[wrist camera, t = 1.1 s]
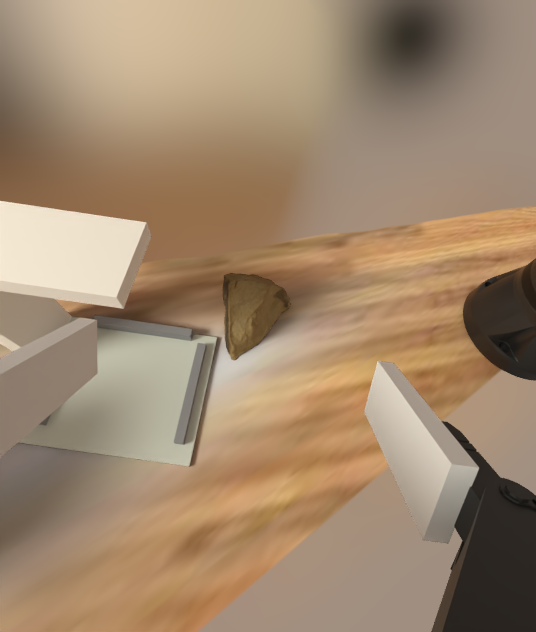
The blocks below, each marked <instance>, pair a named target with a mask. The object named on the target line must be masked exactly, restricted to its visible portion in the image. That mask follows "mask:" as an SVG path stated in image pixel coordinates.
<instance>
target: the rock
mask: <svg viewBox="0 0 536 632" xmlns="http://www.w3.org/2000/svg"><path fill="white" fill-rule="evenodd" d="M223 300H224V305H225V309H226V312H225V320H224V326H225V341H226V348H227V350H228V353H229V354H230V356H231V359H232V360H236V359H237V358H238V356H239V355H241V354H242V353H244V352H246V351H247V350H249V349H251V348H253V347H254V346H255V345H258V344H259V342H260V341H261V340H262V339H263V338H264V337H265V336H266V335H267V333H268V332H269V331H270V328H271V327H272V325H273V324H274V323H275V322H276V321H277V319H278V317H279V315H280V314H281V313H282V312H284V311H285V310H287V309H288V308H289V307H290V305H291V303H290V298H289V297H288V295H287V293H286V291H285V290H284V289H283V288H282V287H280V286H278V285H276V284H275V283H274V282H272V281H271V280H269V279H265V278H262V277H259V276H257V275H246V274H234V273H230V274H227V275H224V283H223Z"/></svg>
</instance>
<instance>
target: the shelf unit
mask: <svg viewBox="0 0 536 632" xmlns="http://www.w3.org/2000/svg"><path fill="white" fill-rule="evenodd" d="M150 238H151V234H150V231H149V228H148V226H147V223H145V222H139V221H132V220H125V219H119V218H112V217H105V216H98V215H92V214H85V213H78V212H71V211H64V210H57V209H51V208H44V207H37V206H30V205H24V204H17V203H10V202H3V201H0V344H1V345H3V346H5V347H7V348H8V349H10V350H12V351H15V350H17V349H19V348H21V347H23V346H25V345H27V344H29V343H31V342H33V341H35V340H37V339H39V338H41V337H43V336H45V335H47V334H49V333H51V332H53V331H55V330H57V329H59V328H61V327H63V326H65V325H67V324H69V323H71V322H73V321H75V320H77V319H79V317H72V316H71V315H70V314H69V313H68V312H67V311H66V310H65V309H64V308H63V307H62V306H61V305H60V304H59V303H58V302H57V301H56V300H55V299H60V300H67V301H74V302H81V303H88V304H95V305H102V306H109V307H115V308H122V309H124V307H125V304H126V301H127V299H128V296H129V294H130V291H131V288H132V286H133V283H134V281H135V278H136V275H137V273H138V270H139V267H140V265H141V262H142V260H143V257H144V254H145V252H146V249H147V247H148V244H149V241H150ZM93 319H94V320H97V366H98V374H97V375H95V376H94V377H93V378H92V379H91V380H90V381H89V382H87V383H86V384H85V385H84V386H83V387H82V388H80V389H79V390H78V391H77V392H76V393H75V394H73V395H72V396H71V397H70V398H69V399H68V400H67V401H65V402H64V403H63V404H62V405H61V406H60V407H58V408H57V409H56V410H55V411H54V412H53V413H52V414H50V415H49V416H48V417H47V418H46V419H45V420H43V421H42V422H41V423H40V424H39V425H38V426H36V427H35V428H34V429H33V430H32V431H31V432H30V433H28V434H27V435H26V436H25V437H24V438H23V439H21V440H20V441H19V442H18V443H24V444H31V445H38V446H46V447H53V448H60V449H67V450H74V451H82V452H89V453H96V454H103V455H110V456H118V457H125V458H132V459H139V460H146V461H154V462H161V463H168V464H175V465H182V466H190V463H191V459H192V454H193V449H194V445H195V440H196V435H197V431H198V426H199V421H200V417H201V412H202V407H203V403H204V398H205V393H206V389H207V384H208V379H209V375H210V370H211V365H212V361H213V356H214V351H215V347H216V342H217V337H211V336H204V335H197V334H193V331H192V329H189V328H182V327H175V326H168V325H161V324H154V323H147V322H141V321H134V320H127V319H120V318H113V317H106V316H99V315H95V316H94V318H93Z"/></svg>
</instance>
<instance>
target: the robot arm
mask: <svg viewBox="0 0 536 632" xmlns="http://www.w3.org/2000/svg"><path fill="white" fill-rule="evenodd" d="M463 317H464V323H465V326H466V329H467V332H468V334H469V336H470V338H471V340H472V341H473V343H474V344H475V346H476V347H477V348H478V349H479V351H480V352H481V353H482V354H483V355H484V356H485V357H486V358H487V359H488V360H489V361H491V362H492V363H493V364H495V365H496V366H497V367H499V368H500V369H502V370H504V371H506V372H508V373H510V374H512V375H514V376H517V377H520V378H523V379H528V380H536V259H534V260H533V261H532V262H530V263H529V264H528V265H526V266H524V267H521V268H518V269H515V270H512V271H510V272H507V273H504V274H501V275H498V276H496V277H493V278H490V279H488V280H486V281H485V282H483V283H482V284H480V285H479V286H478V287H477V288H476V289H474V290H473V291H472V292H471V293H470V294H469V296H468V297H467V299H466V301H465V304H464V309H463ZM97 374H98V366H97V320H94V319H87V318H79V319H77V320H75V321H73V322H71V323H69V324H67V325H65V326H63V327H61V328H59V329H57V330H55V331H53V332H51V333H49V334H47V335H45V336H43V337H41V338H39V339H37V340H35V341H33V342H31V343H29V344H27V345H25V346H23V347H21V348H19V349H17V350H15V351H13V352H11V353H9V354H7V355H5V356H3V357H1V358H0V458H1V457H2V456H3V455H4V454H5V453H6V452H8V451H9V450H10V449H11V448H12V447H13V446H15V445H16V444H17V443H18V442H19V441H20V440H21V439H23V438H24V437H25V436H26V435H27V434H28V433H30V432H31V431H32V430H33V429H34V428H35V427H36V426H38V425H39V424H40V423H41V422H42V421H43V420H45V419H46V418H47V417H48V416H49V415H50V414H52V413H53V412H54V411H55V410H56V409H57V408H58V407H60V406H61V405H62V404H63V403H64V402H65V401H67V400H68V399H69V398H70V397H71V396H72V395H73V394H75V393H76V392H77V391H78V390H79V389H80V388H82V387H83V386H84V385H85V384H86V383H87V382H89V381H90V380H91V379H92V378H93V377H94V376H95V375H97ZM364 412H365V414H366V417H367V419H368V421H369V423H370V425H371V428H372V430H373V432H374V434H375V436H376V439H377V441H378V443H379V445H380V447H381V449H382V452H383V454H384V456H385V458H386V460H387V463H388V465H389V467H390V469H391V471H392V473H393V476H394V478H395V480H396V482H397V485H398V487H399V489H400V491H401V493H402V495H403V498H404V500H405V502H406V504H407V507H408V509H409V511H410V513H411V515H412V517H413V520H414V522H415V524H416V526H417V528H418V531H419V533H420V535H421V537H422V539H423V540H426V541H432V542H440V543H447V544H448V543H449V541H450V538H451V536H452V533H453V531H454V528H456V530H457V532H458V534H459V535H460V537H461V539H462V540H463V541H462V543H461V546H460V548H459V550H458V553H457V555H456V558H455V560H454V562H453V564H452V567H451V570H452V572H451V574H450V577H449V580H448V583H447V586H446V589H445V593H444V595H443V598H442V602H441V604H440V607H439V610H438V613H437V616H436V619H435V622H434V625H433V629H432V631H431V632H536V496H535V495H534V494H533V493H532V492H530V491H529V490H528V489H526V488H525V487H523V486H521V485H520V484H518V483H515V482H513V481H511V480H508V479H505V478H500V477H499V476H498V474H497V473H496V472H495V471H494V470H493V469H492V467H491V466H490V465H489V464H488V463H487V462H486V460H485V459H484V458H483V457H482V456H481V455H480V454H479V453H478V452H476V449H475V448H474V447H473V445H472V444H470V443H469V441H468V440H467V438H466V437H465V436H464V435H463V434H462V433H461V432H460V431H459V430H458V429H456V428H455V427H454V426H452V425H451V424H449V423H448V422H443V421H441V420H440V419H439V418H438V417H437V415H436V414H435V413H434V412H433V410H432V409H431V408H430V407H429V406H428V404H427V403H426V402H425V401H424V399H423V398H422V397H421V396H420V394H419V393H418V392H417V391H416V390H415V388H414V387H413V386H412V385H411V383H410V382H409V381H408V380H407V379H406V377H405V376H404V375H403V374H402V372H401V371H400V370H399V369H398V367H397V366H396V365H395V364H394V363H390V362H383V361H378V362H377V366H376V369H375V373H374V377H373V381H372V384H371V388H370V392H369V396H368V399H367V403H366V407H365V411H364Z"/></svg>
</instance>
